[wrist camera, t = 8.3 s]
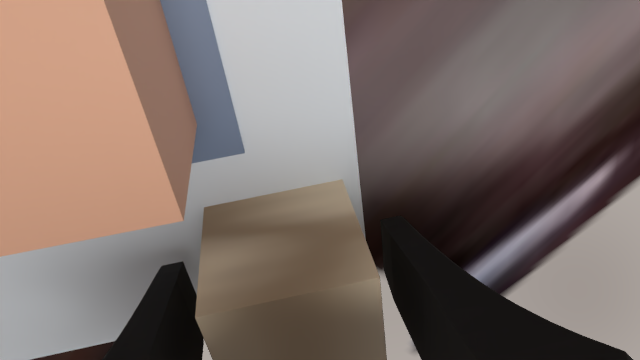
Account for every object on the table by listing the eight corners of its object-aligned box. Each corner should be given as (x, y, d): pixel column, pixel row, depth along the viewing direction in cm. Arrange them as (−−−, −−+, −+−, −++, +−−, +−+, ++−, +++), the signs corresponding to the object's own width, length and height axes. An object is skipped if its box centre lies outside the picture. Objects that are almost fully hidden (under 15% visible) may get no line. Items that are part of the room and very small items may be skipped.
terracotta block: (-9, 161, 11) (-110, 277, 8) (-149, -70, 8) (-392, -40, 5) (196, 124, 12) (183, 220, 8) (127, -110, 9) (64, -108, 5)
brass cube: (236, 303, 15) (238, 420, 12) (203, 207, 13) (195, 317, 10) (354, 277, 15) (388, 385, 12) (342, 179, 13) (379, 277, 10)
